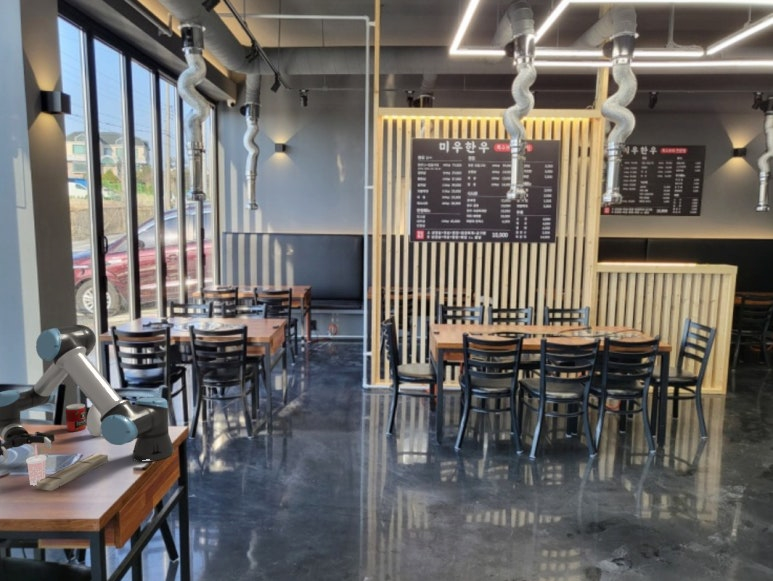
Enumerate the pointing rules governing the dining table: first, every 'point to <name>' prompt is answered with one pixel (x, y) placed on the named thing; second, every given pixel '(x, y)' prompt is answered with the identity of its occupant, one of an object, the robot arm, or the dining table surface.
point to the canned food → (75, 417)
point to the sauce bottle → (94, 421)
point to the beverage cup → (36, 467)
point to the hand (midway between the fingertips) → (28, 450)
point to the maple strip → (71, 472)
